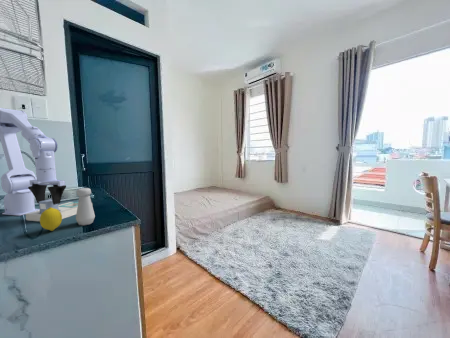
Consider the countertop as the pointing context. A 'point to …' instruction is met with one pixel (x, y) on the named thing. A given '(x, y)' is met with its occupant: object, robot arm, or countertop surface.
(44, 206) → the plug
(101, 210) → the countertop surface
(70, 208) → the panel
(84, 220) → the salt shaker
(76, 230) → the countertop surface
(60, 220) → the lemon
